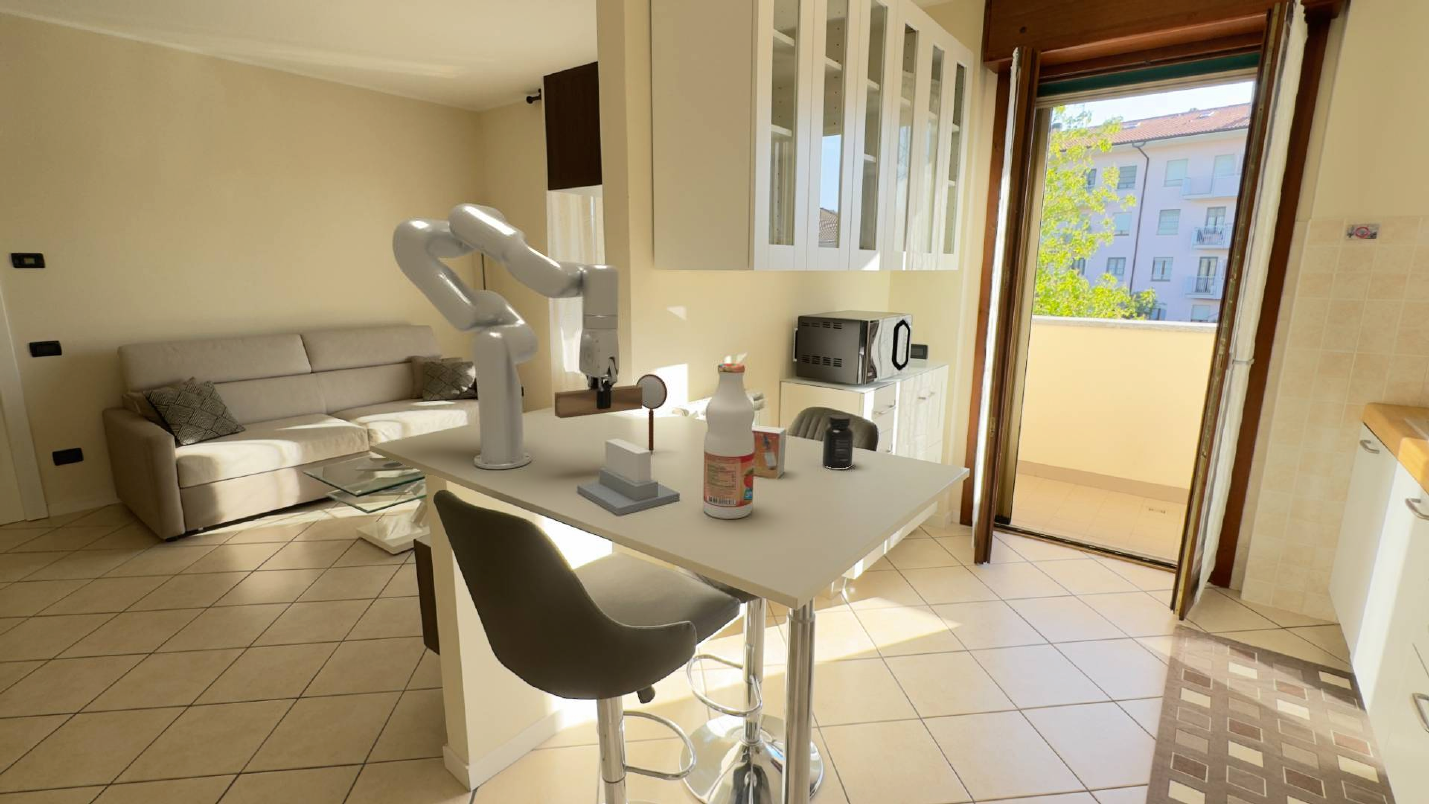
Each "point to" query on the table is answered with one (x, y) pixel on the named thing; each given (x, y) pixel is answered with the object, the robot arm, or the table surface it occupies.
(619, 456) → the ridge stand
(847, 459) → the supplement bottle
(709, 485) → the fruit juice
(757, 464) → the small box
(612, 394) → the walnut bar
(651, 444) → the magnifying glass
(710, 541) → the table surface
